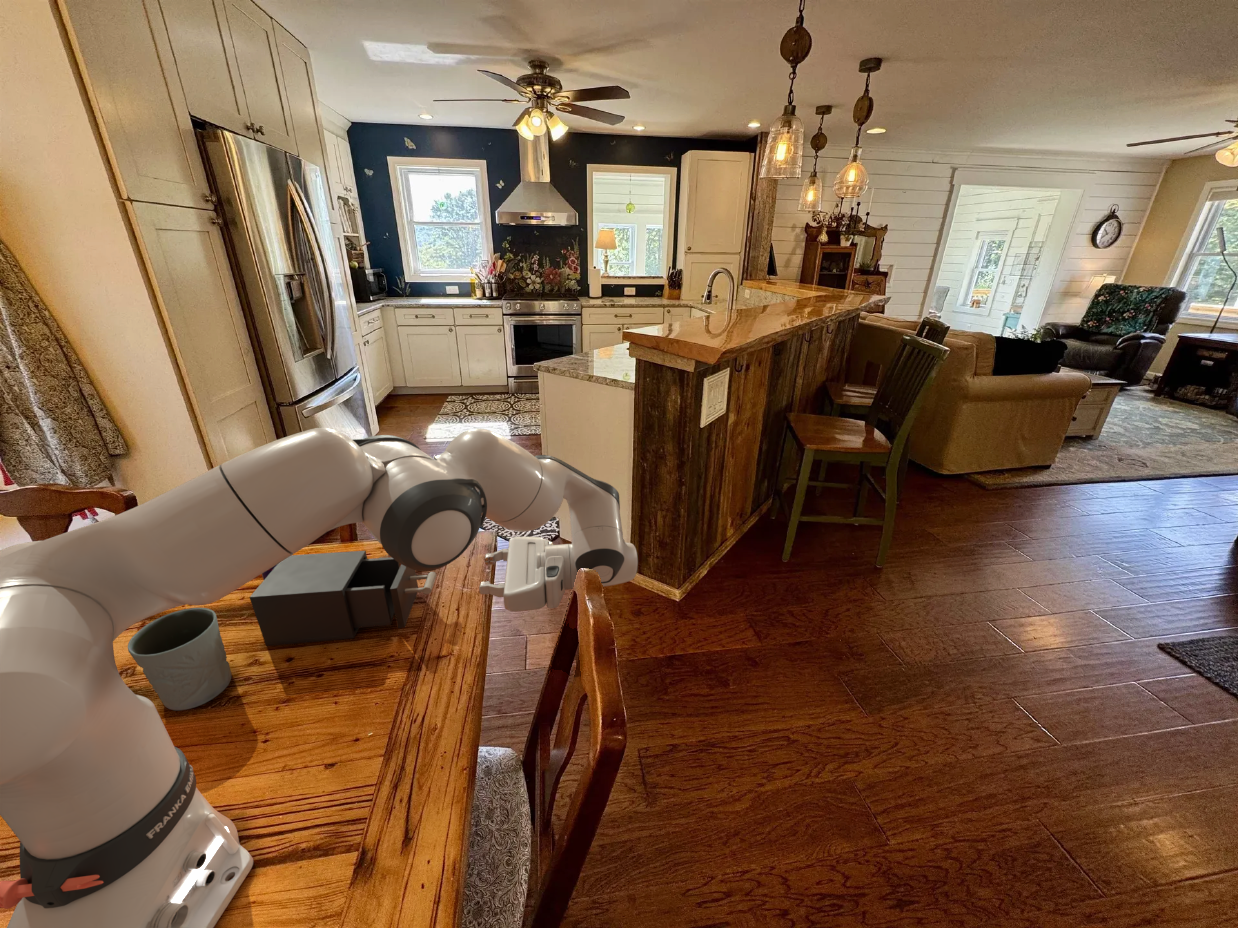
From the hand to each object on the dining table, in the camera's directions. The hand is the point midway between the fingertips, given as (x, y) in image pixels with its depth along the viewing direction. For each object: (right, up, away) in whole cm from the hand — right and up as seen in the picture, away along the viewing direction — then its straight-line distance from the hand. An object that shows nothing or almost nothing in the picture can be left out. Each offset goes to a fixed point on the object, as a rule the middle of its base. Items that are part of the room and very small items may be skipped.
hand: (482, 573), depth 95 cm
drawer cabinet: (-30, -8, -1) cm, 31 cm away
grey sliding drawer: (-18, -7, 0) cm, 19 cm away
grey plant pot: (-40, -15, -17) cm, 46 cm away
